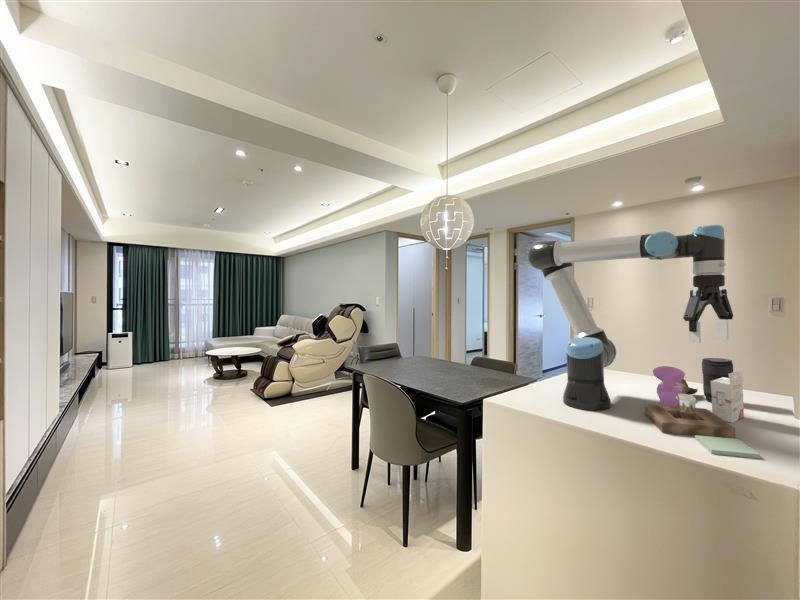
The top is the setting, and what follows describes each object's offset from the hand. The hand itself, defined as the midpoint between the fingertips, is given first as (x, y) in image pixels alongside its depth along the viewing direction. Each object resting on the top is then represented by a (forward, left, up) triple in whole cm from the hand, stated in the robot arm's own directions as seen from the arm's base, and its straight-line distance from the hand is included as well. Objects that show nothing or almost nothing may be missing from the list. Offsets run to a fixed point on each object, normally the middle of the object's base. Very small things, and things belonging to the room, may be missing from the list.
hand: (708, 340), depth 109 cm
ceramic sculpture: (-3, +19, -24) cm, 31 cm away
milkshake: (-12, -14, -24) cm, 30 cm away
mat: (-9, -29, -23) cm, 38 cm away
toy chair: (-11, +1, -24) cm, 26 cm away
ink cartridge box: (+2, -4, -24) cm, 24 cm away
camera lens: (+7, +14, -24) cm, 29 cm away
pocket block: (-12, -14, -23) cm, 29 cm away
